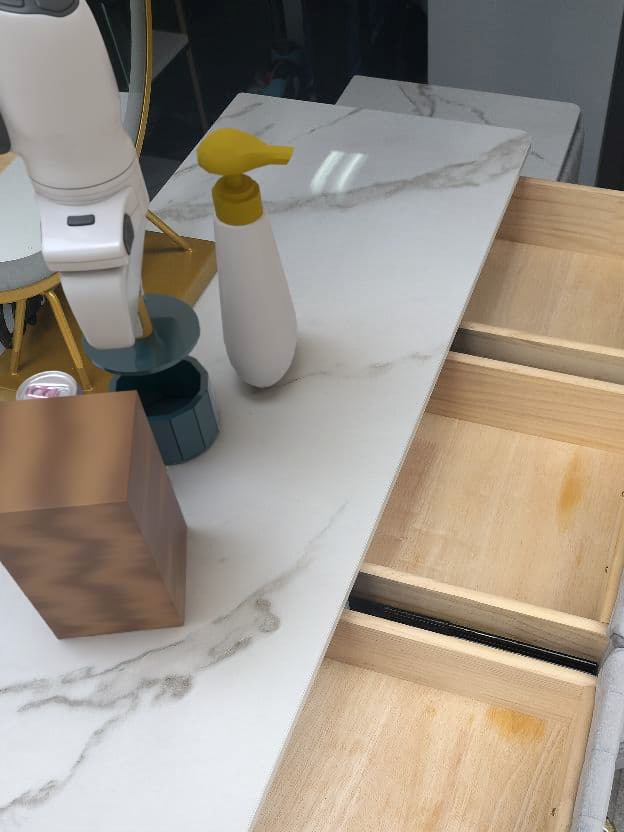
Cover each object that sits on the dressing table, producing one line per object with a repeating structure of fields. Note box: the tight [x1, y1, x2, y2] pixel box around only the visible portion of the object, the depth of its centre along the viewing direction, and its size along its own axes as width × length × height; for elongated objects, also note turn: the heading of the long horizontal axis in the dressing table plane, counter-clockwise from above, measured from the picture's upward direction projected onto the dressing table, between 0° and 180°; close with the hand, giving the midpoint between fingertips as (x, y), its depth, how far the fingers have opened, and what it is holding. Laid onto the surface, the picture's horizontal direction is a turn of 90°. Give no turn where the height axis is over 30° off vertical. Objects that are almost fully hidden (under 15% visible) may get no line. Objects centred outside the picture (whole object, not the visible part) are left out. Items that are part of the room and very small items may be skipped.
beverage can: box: [15, 370, 85, 400], centre depth 82 cm, size 6×6×15 cm
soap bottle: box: [195, 127, 298, 389], centre depth 88 cm, size 13×10×29 cm
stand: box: [0, 390, 188, 640], centre depth 74 cm, size 12×12×20 cm
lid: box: [81, 291, 201, 376], centre depth 80 cm, size 12×12×5 cm
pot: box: [107, 354, 221, 466], centre depth 91 cm, size 11×11×7 cm
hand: (136, 320), depth 80 cm, fingers closed on lid, 2 cm apart
